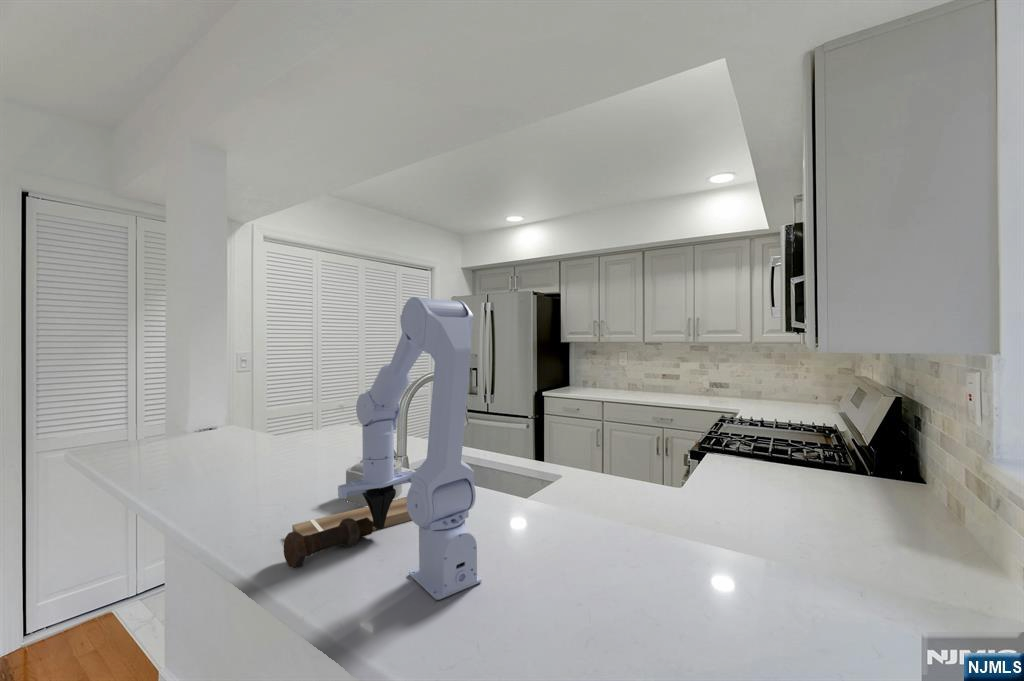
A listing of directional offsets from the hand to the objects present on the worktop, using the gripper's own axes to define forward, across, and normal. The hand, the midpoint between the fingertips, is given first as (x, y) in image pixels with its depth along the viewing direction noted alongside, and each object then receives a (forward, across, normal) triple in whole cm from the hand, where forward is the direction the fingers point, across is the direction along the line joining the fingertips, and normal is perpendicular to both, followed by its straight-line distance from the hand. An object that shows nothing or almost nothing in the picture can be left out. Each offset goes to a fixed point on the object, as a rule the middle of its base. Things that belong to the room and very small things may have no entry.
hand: (378, 527), depth 84 cm
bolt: (+2, +8, 0) cm, 9 cm away
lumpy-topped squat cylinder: (+2, -8, -22) cm, 24 cm away
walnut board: (+2, +1, -7) cm, 8 cm away
